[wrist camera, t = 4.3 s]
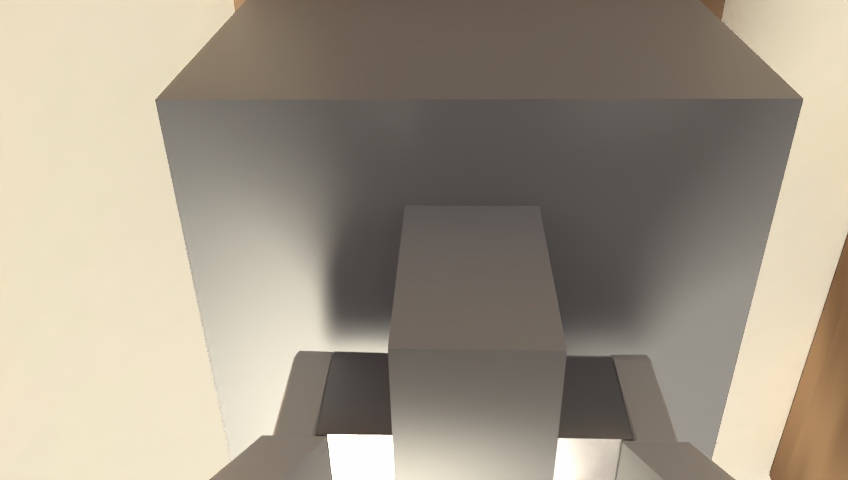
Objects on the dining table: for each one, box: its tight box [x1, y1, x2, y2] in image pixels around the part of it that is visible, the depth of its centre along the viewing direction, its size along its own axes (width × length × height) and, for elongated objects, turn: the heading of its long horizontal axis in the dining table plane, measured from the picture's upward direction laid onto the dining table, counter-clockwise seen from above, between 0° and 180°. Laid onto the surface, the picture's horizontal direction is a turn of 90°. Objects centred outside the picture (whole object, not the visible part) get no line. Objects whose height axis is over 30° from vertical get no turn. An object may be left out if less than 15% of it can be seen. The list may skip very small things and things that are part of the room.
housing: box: [155, 0, 803, 480], centre depth 13 cm, size 8×8×9 cm
